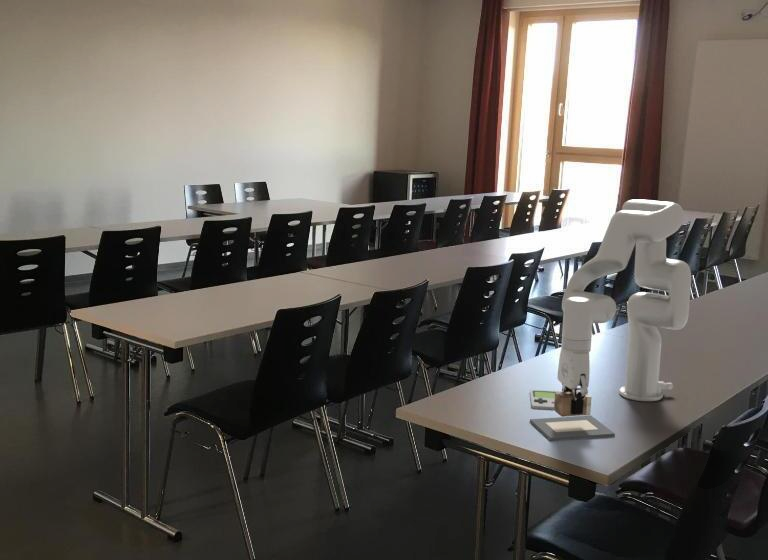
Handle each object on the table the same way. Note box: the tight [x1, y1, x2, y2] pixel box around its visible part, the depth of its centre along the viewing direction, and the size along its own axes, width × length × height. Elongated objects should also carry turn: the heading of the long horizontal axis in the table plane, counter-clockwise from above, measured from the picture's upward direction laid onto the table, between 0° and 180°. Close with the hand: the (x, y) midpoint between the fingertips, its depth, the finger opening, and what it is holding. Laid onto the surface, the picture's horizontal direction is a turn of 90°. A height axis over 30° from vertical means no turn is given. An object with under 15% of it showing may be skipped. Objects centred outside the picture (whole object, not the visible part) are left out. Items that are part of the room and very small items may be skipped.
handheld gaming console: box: [529, 389, 562, 411], centre depth 244 cm, size 10×2×15 cm
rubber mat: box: [529, 414, 616, 442], centre depth 221 cm, size 18×14×1 cm
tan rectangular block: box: [553, 390, 592, 417], centre depth 220 cm, size 5×8×5 cm, turn 102°
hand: (572, 409), depth 220 cm, fingers closed on tan rectangular block, 5 cm apart
